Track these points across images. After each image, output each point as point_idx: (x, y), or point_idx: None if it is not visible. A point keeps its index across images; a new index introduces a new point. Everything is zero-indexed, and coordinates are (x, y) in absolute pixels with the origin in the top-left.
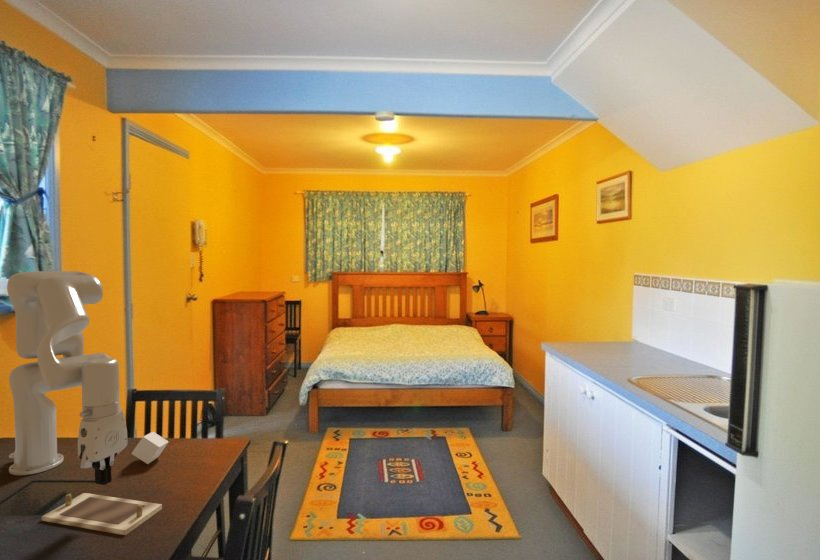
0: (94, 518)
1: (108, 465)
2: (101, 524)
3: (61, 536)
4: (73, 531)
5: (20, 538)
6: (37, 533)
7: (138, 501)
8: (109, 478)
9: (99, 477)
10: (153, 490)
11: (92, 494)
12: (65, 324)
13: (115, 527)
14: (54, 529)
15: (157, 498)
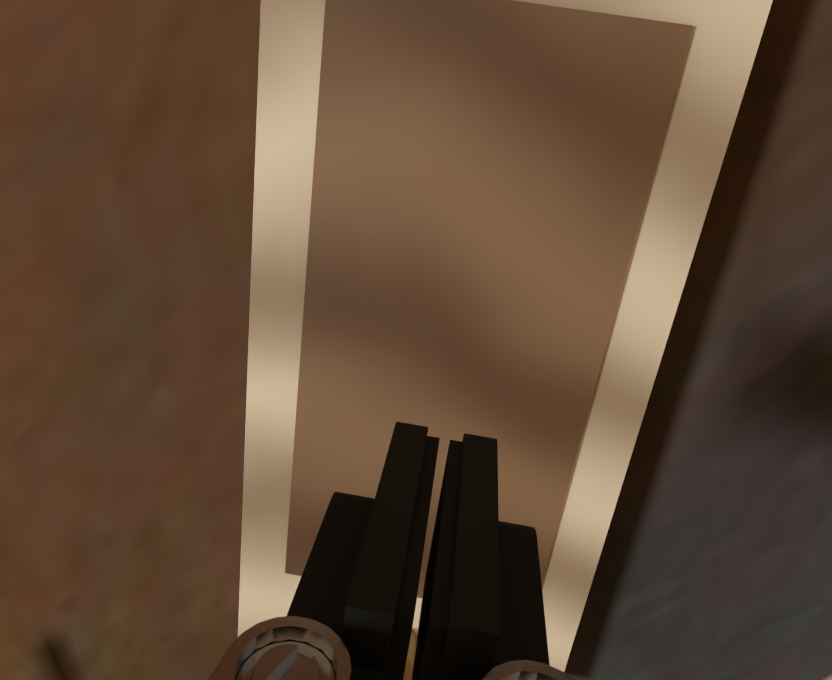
0: (587, 336)
1: (334, 671)
2: (681, 208)
3: (746, 444)
4: (683, 405)
5: (745, 663)
6: (693, 610)
7: (267, 121)
8: (419, 462)
9: (536, 592)
10: (19, 161)
11: (245, 577)
12: None
13: (750, 15)
14: (649, 544)
15: (123, 14)
